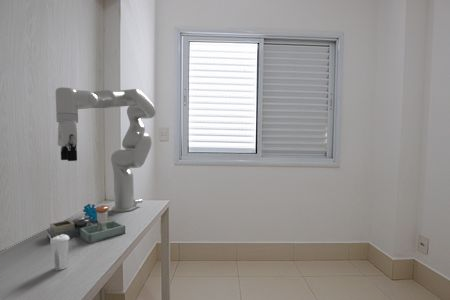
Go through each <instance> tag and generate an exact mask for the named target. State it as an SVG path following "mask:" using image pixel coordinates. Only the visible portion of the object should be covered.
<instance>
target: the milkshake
mask: <svg viewBox="0 0 450 300" xmlns="http://www.w3.org/2000/svg"><path fill="white" fill-rule="evenodd" d="M48 235H49V237H50V239H51V240H50V239H49V241H50V242H49V243H50V249H51V250H50V251H51V257H52V258H51V259H52V265H53V270H54V271H62V270H64V269H66V268H68V266H69V250H70V239H69V236H68V235H64V234H61V235H59V236H56V237H54V238H51V236H50V234H49V233H48Z"/></svg>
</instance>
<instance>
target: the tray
mask: <svg viewBox="0 0 450 300" xmlns="http://www.w3.org/2000/svg"><path fill="white" fill-rule="evenodd" d="M125 234H126V225H125V224H123V223H121V222H119V221H116V220H115V219H114V220H110V221H108V230H104V231H100V232H97V224H95V225H93V226H88V227H84V228H80V236H79V237H80V238H81V239H83V241H85V242H86V243H88V244H93V243H95V242H99V241H104V240H107V239H110V238H114V237H117V236H120V235H125Z"/></svg>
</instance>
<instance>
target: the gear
mask: <svg viewBox="0 0 450 300" xmlns="http://www.w3.org/2000/svg"><path fill="white" fill-rule="evenodd" d="M96 207H99V206H96V205H95V204H93V203H92V204H90V203H88V204H87V205H84V207H83V210H82V212H83V213H84V216H85V217H87V218H90V221H91V220H92V219H93V220H92V221H93V222H95V223H97V211H96Z"/></svg>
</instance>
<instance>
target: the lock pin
mask: <svg viewBox="0 0 450 300" xmlns="http://www.w3.org/2000/svg"><path fill="white" fill-rule="evenodd" d="M95 208H96V211H97V221H96V225H97V232H100V231H104V230H108V222H109V221H108V220H109V219H108V218H109V217H108V211H109V206H108V205H99V206H98V207H97V206H95Z"/></svg>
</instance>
